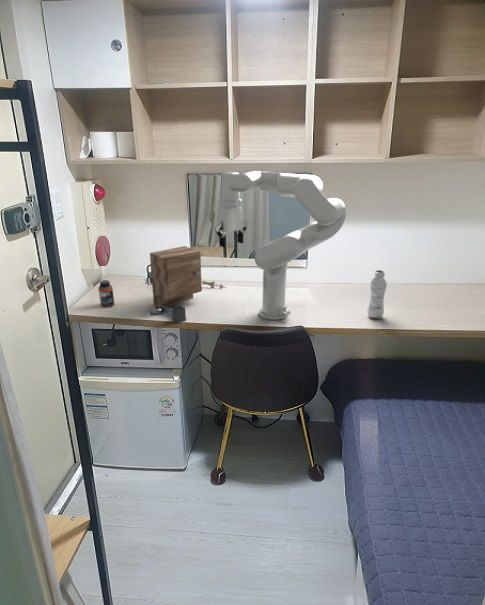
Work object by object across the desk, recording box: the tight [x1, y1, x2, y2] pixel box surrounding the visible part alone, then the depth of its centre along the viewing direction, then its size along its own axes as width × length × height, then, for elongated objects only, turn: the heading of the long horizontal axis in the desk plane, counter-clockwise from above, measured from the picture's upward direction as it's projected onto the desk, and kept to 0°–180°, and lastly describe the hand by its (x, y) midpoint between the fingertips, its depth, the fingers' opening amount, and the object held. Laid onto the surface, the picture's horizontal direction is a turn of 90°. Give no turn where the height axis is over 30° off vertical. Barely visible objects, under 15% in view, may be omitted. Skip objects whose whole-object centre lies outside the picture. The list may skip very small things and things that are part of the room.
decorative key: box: [201, 280, 226, 289], centre depth 227 cm, size 7×1×20 cm
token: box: [149, 305, 163, 316], centre depth 196 cm, size 5×5×2 cm
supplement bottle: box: [98, 279, 115, 308], centre depth 203 cm, size 6×6×11 cm
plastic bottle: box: [367, 270, 388, 319], centre depth 188 cm, size 6×7×20 cm
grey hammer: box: [157, 304, 187, 324], centre depth 193 cm, size 18×4×6 cm, turn 40°
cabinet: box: [149, 245, 203, 307], centre depth 202 cm, size 13×18×24 cm
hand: (231, 244), depth 192 cm, fingers open, 9 cm apart
